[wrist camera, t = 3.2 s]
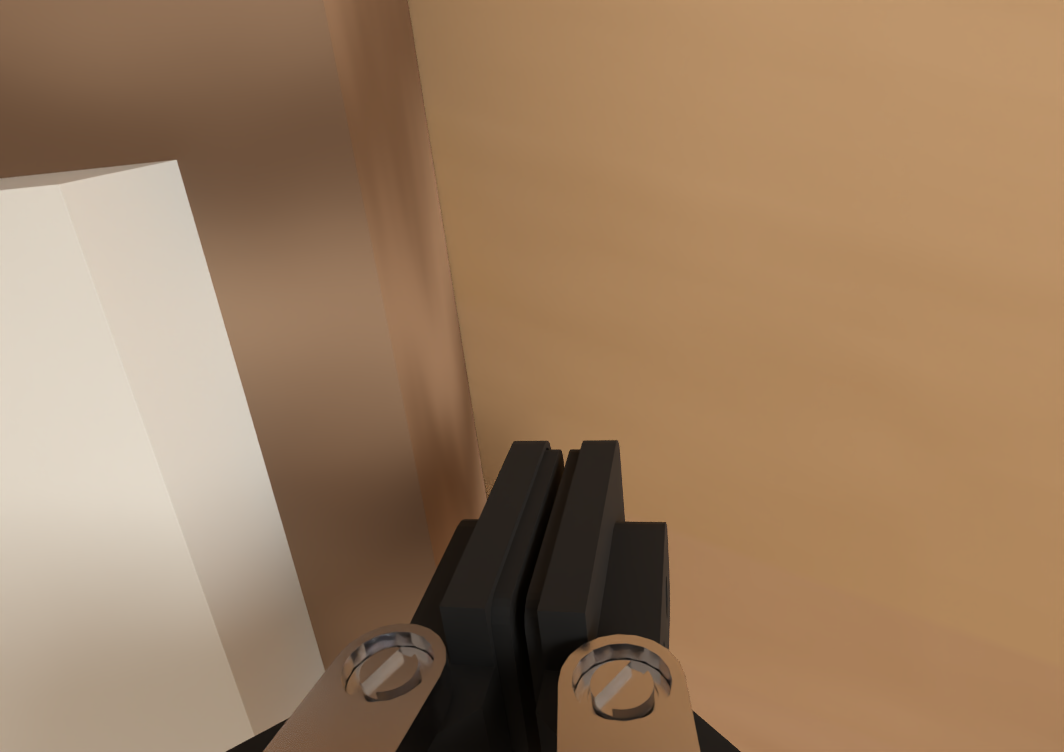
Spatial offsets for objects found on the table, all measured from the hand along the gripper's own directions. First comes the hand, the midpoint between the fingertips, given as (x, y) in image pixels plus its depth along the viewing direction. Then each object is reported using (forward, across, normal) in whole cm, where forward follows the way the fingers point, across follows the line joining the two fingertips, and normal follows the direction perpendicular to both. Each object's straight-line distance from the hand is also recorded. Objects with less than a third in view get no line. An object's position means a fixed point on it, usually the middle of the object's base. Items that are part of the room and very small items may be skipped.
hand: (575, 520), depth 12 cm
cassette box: (+1, +10, 0) cm, 10 cm away
